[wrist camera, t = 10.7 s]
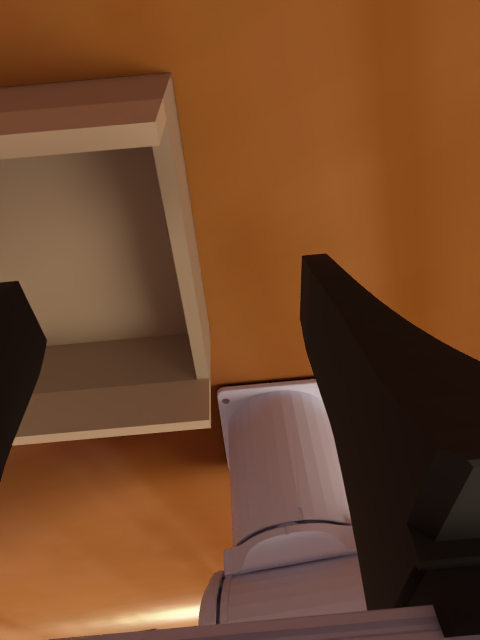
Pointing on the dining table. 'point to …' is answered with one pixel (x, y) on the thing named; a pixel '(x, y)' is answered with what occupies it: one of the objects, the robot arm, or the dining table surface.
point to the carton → (104, 257)
